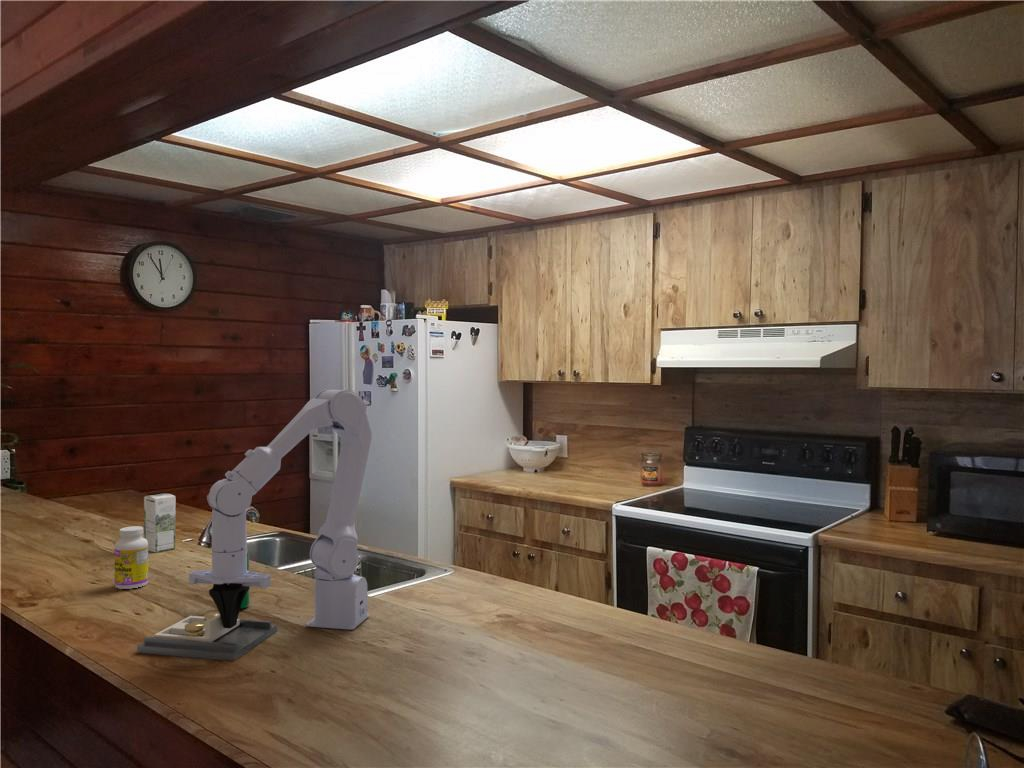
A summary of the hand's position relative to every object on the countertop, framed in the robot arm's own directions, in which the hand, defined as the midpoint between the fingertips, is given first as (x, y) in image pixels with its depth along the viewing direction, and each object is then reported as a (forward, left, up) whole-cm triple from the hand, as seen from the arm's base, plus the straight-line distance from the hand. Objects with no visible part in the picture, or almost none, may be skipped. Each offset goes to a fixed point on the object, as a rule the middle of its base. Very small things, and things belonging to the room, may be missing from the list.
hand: (229, 626), depth 130 cm
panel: (+6, 0, -1) cm, 6 cm away
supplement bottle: (+41, -27, -3) cm, 49 cm away
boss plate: (+4, 0, -3) cm, 5 cm away
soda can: (+10, -18, -3) cm, 21 cm away
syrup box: (+57, -58, -3) cm, 81 cm away
